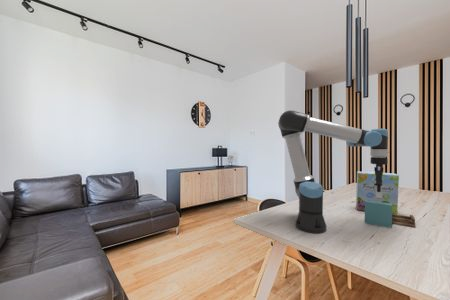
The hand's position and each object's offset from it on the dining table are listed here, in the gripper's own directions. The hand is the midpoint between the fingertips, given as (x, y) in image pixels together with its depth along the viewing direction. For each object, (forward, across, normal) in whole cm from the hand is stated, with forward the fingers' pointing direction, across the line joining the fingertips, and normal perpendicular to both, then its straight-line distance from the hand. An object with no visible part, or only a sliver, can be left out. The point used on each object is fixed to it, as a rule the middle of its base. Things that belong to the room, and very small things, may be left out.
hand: (378, 195), depth 113 cm
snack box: (+16, +26, +1) cm, 31 cm away
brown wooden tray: (+16, +11, -7) cm, 21 cm away
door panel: (+16, 0, 0) cm, 16 cm away
